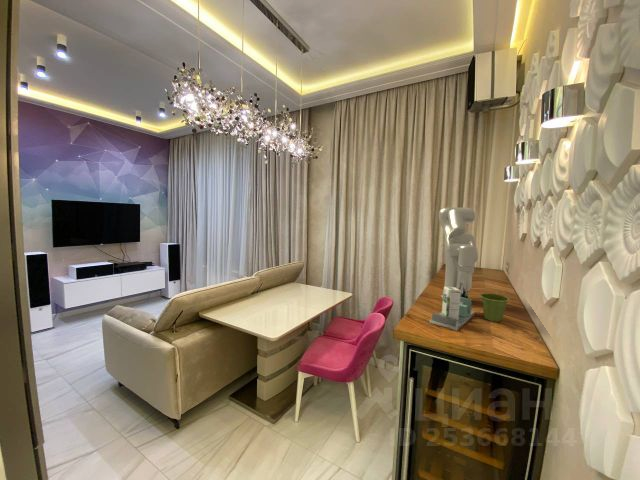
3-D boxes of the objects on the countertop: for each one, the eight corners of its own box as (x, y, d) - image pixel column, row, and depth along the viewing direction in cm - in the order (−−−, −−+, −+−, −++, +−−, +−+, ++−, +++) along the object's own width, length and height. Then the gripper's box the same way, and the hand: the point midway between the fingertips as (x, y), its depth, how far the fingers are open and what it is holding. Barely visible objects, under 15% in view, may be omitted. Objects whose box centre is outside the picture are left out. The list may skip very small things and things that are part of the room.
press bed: (450, 308, 144) (450, 300, 144) (474, 314, 136) (475, 305, 135) (429, 322, 124) (430, 313, 124) (456, 330, 116) (457, 320, 116)
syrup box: (441, 315, 130) (442, 286, 128) (453, 315, 129) (455, 286, 128) (446, 320, 124) (448, 289, 123) (459, 320, 124) (461, 290, 122)
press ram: (451, 305, 142) (452, 295, 142) (472, 310, 135) (473, 299, 135) (443, 311, 134) (444, 300, 133) (465, 317, 127) (465, 305, 126)
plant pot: (473, 314, 135) (474, 293, 134) (494, 314, 136) (496, 293, 135) (490, 324, 123) (491, 301, 122) (513, 323, 124) (515, 300, 123)
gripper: (462, 266, 147) (460, 298, 148) (453, 269, 136) (451, 304, 138) (477, 268, 141) (475, 301, 143) (469, 272, 131) (467, 308, 132)
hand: (463, 302), depth 140 cm, fingers closed
